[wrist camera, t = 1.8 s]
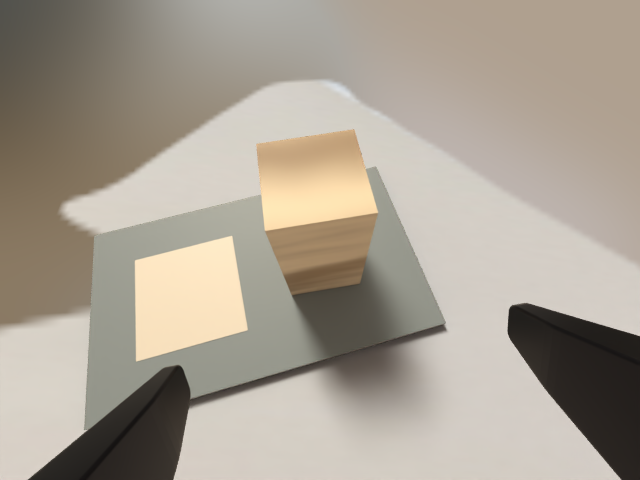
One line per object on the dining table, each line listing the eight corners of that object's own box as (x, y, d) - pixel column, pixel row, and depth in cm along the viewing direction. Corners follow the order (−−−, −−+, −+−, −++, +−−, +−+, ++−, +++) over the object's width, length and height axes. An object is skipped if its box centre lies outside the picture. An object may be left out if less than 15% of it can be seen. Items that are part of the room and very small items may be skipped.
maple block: (359, 283, 23) (378, 212, 14) (291, 295, 22) (264, 230, 14) (346, 224, 25) (354, 129, 16) (283, 234, 25) (256, 143, 16)
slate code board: (375, 170, 28) (376, 166, 27) (443, 324, 22) (446, 322, 21) (99, 238, 26) (93, 235, 25) (91, 429, 20) (83, 430, 19)
